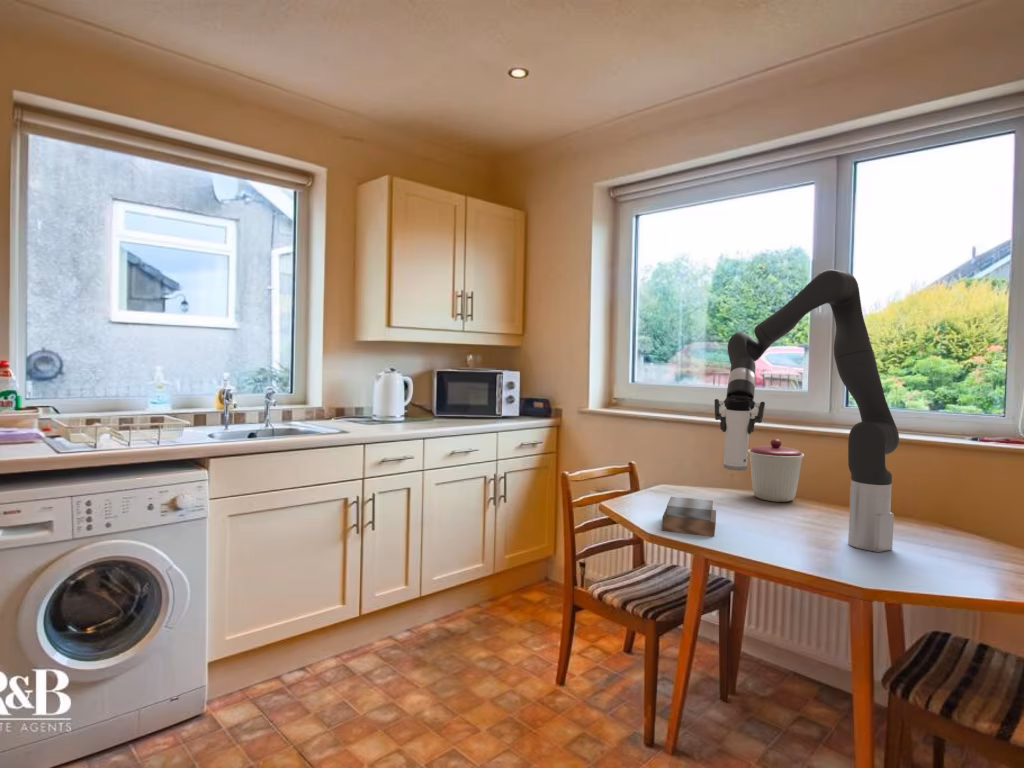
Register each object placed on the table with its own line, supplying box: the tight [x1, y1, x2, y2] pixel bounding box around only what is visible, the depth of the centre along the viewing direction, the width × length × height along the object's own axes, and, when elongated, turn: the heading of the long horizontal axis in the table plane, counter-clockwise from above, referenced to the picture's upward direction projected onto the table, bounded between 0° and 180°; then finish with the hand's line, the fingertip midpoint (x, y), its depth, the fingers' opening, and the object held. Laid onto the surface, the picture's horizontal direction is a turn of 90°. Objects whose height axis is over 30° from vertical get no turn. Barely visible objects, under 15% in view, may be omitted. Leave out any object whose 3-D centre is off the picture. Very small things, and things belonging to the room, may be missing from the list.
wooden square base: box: [661, 496, 717, 537], centre depth 175 cm, size 14×14×7 cm
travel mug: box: [723, 398, 752, 472], centre depth 172 cm, size 6×7×20 cm
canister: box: [748, 438, 805, 503], centre depth 213 cm, size 18×18×21 cm
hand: (736, 431), depth 170 cm, fingers closed on travel mug, 6 cm apart
